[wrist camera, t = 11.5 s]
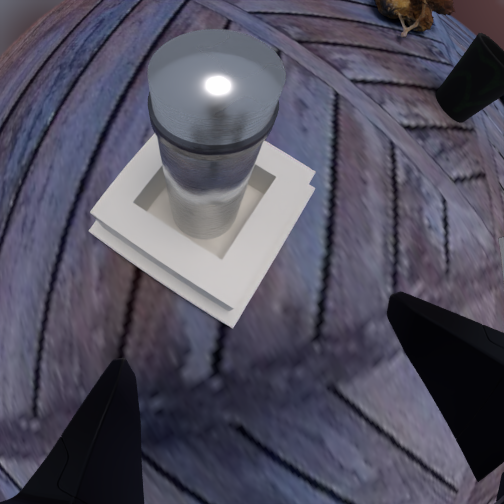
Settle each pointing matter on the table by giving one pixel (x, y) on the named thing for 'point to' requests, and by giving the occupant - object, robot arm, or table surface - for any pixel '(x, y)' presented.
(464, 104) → the cup
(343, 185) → the table surface
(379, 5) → the seed pod
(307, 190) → the white square hollow block
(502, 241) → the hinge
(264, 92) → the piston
